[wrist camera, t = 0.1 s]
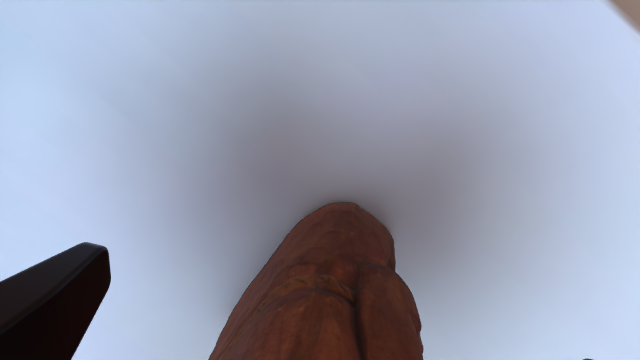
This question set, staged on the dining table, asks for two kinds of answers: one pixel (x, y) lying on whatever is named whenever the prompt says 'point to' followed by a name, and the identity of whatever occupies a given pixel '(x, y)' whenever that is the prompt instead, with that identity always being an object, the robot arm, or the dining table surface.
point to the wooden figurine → (326, 297)
